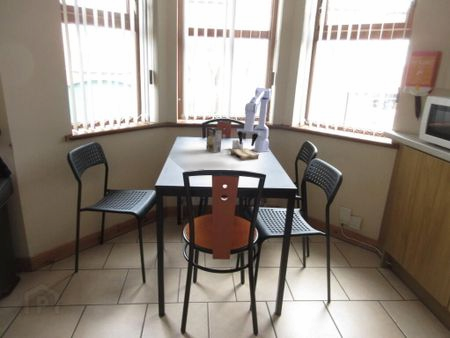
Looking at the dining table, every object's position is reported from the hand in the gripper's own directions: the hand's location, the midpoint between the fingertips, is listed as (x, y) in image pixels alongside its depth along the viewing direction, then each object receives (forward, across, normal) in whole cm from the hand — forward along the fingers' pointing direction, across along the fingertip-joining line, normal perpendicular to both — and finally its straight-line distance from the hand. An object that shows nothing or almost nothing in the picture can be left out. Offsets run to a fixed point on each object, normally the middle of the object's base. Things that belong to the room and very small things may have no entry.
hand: (246, 145), depth 194 cm
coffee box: (+9, -27, +12) cm, 31 cm away
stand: (+9, -4, +12) cm, 15 cm away
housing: (+7, -15, +25) cm, 30 cm away
